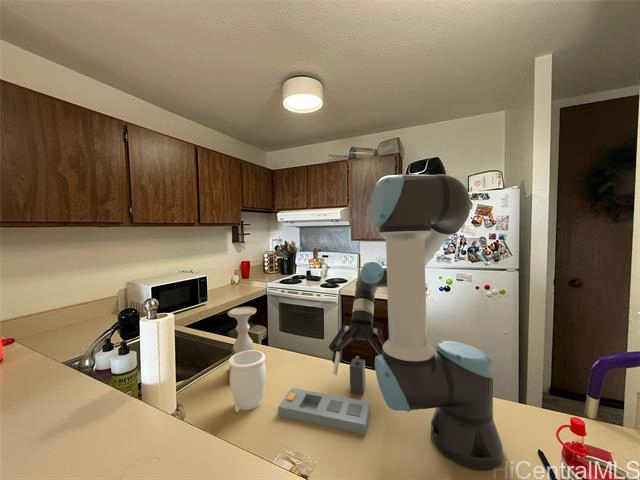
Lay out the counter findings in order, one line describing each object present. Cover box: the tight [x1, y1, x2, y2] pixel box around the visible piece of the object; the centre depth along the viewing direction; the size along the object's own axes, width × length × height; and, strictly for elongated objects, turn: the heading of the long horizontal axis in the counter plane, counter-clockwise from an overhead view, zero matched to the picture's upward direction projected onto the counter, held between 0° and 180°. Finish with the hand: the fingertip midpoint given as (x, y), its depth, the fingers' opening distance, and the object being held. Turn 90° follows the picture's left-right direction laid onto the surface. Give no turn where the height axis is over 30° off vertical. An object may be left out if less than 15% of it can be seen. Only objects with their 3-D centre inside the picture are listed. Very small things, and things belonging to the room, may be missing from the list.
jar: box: [228, 349, 267, 413], centre depth 78 cm, size 11×10×15 cm
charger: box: [349, 355, 366, 396], centre depth 82 cm, size 4×5×12 cm
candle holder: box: [227, 306, 257, 385], centre depth 96 cm, size 11×11×24 cm
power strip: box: [277, 387, 371, 435], centre depth 72 cm, size 24×9×4 cm, turn 72°
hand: (356, 377), depth 80 cm, fingers open, 13 cm apart
